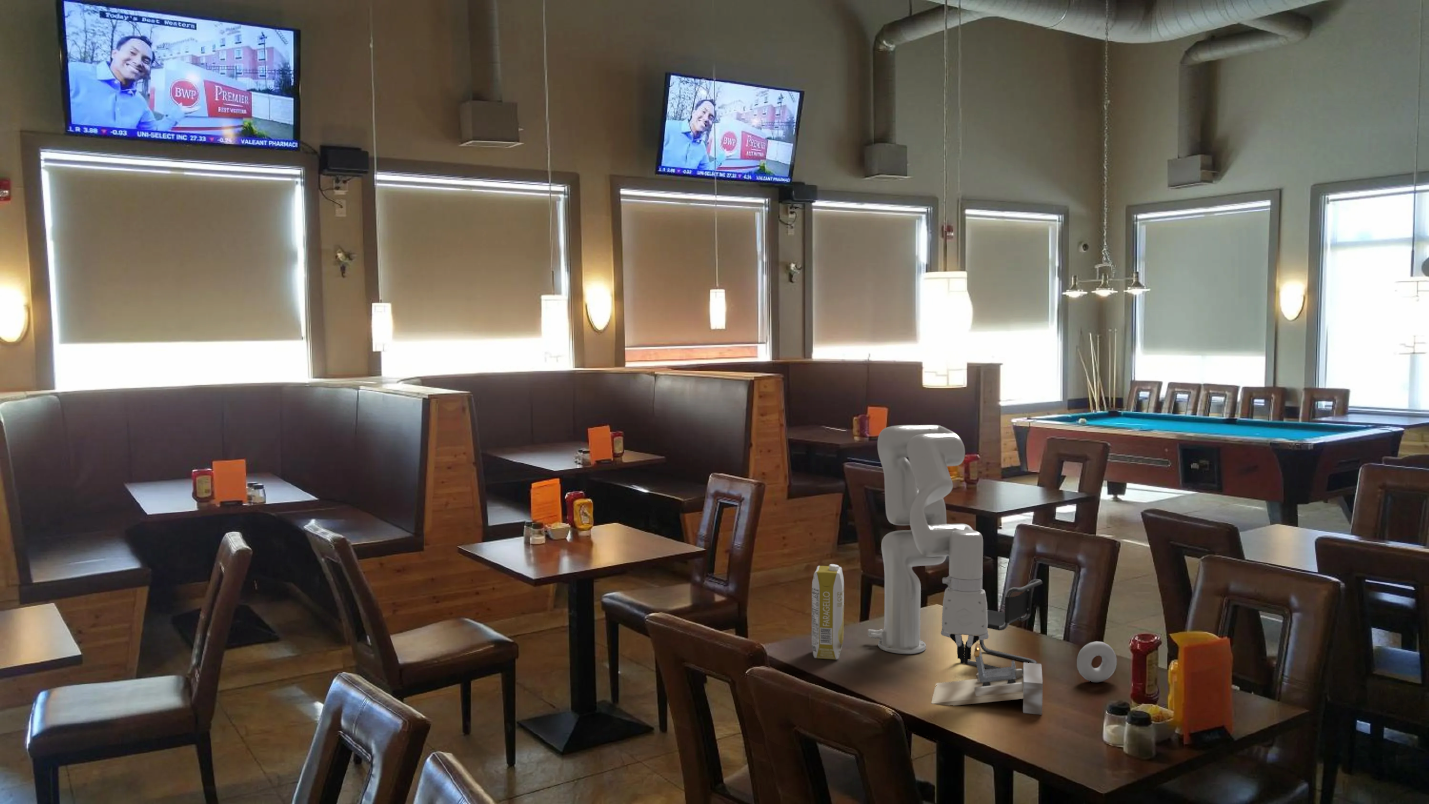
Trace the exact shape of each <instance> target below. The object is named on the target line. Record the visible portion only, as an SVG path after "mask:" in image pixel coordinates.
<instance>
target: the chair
mask: <svg viewBox="0 0 1429 804" xmlns="http://www.w3.org/2000/svg"><path fill="white" fill-rule="evenodd" d="M1040 585H1043V581H1042V580H1041V579H1038V578H1035V579H1032V580H1030V581H1029V582H1028V583H1027V584H1026V585H1025V586H1021V587H1017V586H1016V587H1010V588H1008V590H1006V593H1005V596H1004V612H1002V611H998V610H991V609H987V612H988V627H987V629H990V630H995V631H1004V630H1007V628H1008V627H1009V625H1010V624H1012V623H1014V622H1016V621H1020V622H1023V621H1026V620H1028V619H1029V618H1030V617H1031V615H1032V594H1033V593H1032V589H1033V588H1035V587H1038V586H1040ZM1014 592H1015V593H1020V594H1018V595H1016V596H1011V594H1013V593H1014ZM984 640H985V639H984ZM984 640H978V642H979V644H980V646H981V647H980V649H982V650H983V652H984V653H987V654H991V655H995V656H999V657H1003V658H1007V659H1011V658H1012V660H1015V659H1016V661H1021V662H1025V663H1028V662H1029V663H1036V664H1039V663H1038V661H1036V660H1035V659H1033V658H1029V657H1024V656H1019V655H1015V654H1011V653H1007V652H1003V651H997V650H993V649H990V648H988V647H986V645H985V643H984ZM956 654H957V655H956V656H958V646H957V645H956ZM983 664H984V668H986V669H985V670H987V669H996V668H1001V667H1000V666H995V665H991V664H987V663H983ZM967 665H969V666H974V667H977V664H976V660H975V661H974V660H968V664H967ZM1021 669H1022V674H1023V668H1021Z"/></svg>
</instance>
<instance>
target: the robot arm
mask: <svg viewBox="0 0 1429 804" xmlns="http://www.w3.org/2000/svg"><path fill="white" fill-rule="evenodd" d="M877 453H878V457H879V458H878V459H879V460H880V464H881V467H882V470H883V478H884V502H885V503H884V504H885V505H884V506H885V516H886V518H887V520H888V522H889V523H890V524H893V525H895V526H910V529H909V530H907V529H905V530H903V529H902V530H901V529H900V530H895V531H890V532H888V533H887V534H885V535H884V536H883V538H882V539H881V544H880V545H881V547H880V550H881V555H882V561H883V570H884V623H883V624H884V625H883V626H884V627H883V628H880V629H879V630H878V629H873V628H872V629H871V628H869V629H867V636H868V637H870V639H879V640H878V642H877V645H878V647H879V649H880V650H883V651H885V652H888V653H893V654H899V655H913V654H920V653H923V652H924V651H926V649H927V644H926V642H924V641H923V640H922V639H921V602H922V601H921V599H922V598H921V593H922V592H921V591H922V589H921V586H922V584H921V581H920V578H919V577H918V575H917V574H916V573H915V571H914V570H913V567H920V566H921V567H922V566H938V565H941V564H943V563H944V562H945V561H946V559H947V557H948V576H947V577H946V576H945V577H942V579H941V580H942V584H946V585H947V587H946V588H945V590H944V594H943V598H942V599H943V600H942V611H941V612H942V614H941V632H940V634H941V636H943V637H947V638H950V639H951V640H952V641H953V642H954V644H956V647H957V646H958V655H957V659H959V661H960V662H959V663H960V665H961V664H962V665H963V664H965V665H969V664H968V660H970V661H972V647H973V645H976V644H977V642H979V640H988V639H989V637H990V635H989V631H988V628H987V627H988V612H987V610H988V601H987V594H986V591H985V589H983V564H984V563H983V561H984V559H983V558H984V556H983V555H984V539H983V535H982V533H981V532H979V531H977V530H974V529H973V528H972V527H971V526H970V525H969V524H966V523H947V509H946V502H945V499H944V498H945V497H946V496H948V495H949V494H950V493H951V492H952V490H953V487H954V483H953V480H952V478H951V474H950V472H949V468H948V467H957V466H960V465H962V463H963V462H964V460H965V457H966V448H965V445H964V442H963V440H962V439H961V437H960V435H958V434H957V433H956V432H954V431H952V430H951V429H948V428H947V427H945V426H941V425H939V424H920V425H919V424H901V425H891V426H888V427H885V428H883V429H882V430H881V431H880V432H879V434H878V437H877ZM962 636H967V640H966V641H965V643H964V641H963V637H962Z"/></svg>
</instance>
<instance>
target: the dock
mask: <svg viewBox="0 0 1429 804" xmlns="http://www.w3.org/2000/svg"><path fill="white" fill-rule="evenodd" d="M1022 662H1023V666H1022V668H1016V679H1014V680H1015V681H1016V683H1011V684H1007V682H1008V680H1002V681H993V682H989V683H990V684H991V686H982V684H983V683H980V679H979V674H978V672H977V673H976V674H975V676H976V678H972V679H964V680H953V681H944V682H936V683H935V686H936V685H937V686H936V687H935V686H934V690H933V695H932V700H931V703H930V704H933V705H943V706H950V705H953V706H961V705H971V704H972V705H974V704H982V703H992V702H1001V701H1002V702H1003V701H1011V700H1012V701H1013V700H1020V699H1021V700H1022V712H1023V714H1031V715H1032V714H1033V715H1041V716H1042V715H1043V687H1044V686H1043V683H1044V682H1043V681H1044V680H1043V670H1042V667H1043V666H1042V663H1038V664H1036V663H1028V662H1024V661H1022ZM1022 669H1023V674H1022Z"/></svg>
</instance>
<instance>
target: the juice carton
mask: <svg viewBox="0 0 1429 804" xmlns="http://www.w3.org/2000/svg"><path fill="white" fill-rule="evenodd" d="M811 583H812V584H811V648H812V655H813V658H814V659H820V660H821V659H824V660H839V659H840V655H841V651H842V647H843V644H844V631H845V630H844V620H845V619H844V618H845V617H844V615H845V614H844V612H845V604H844V603H845V581H844V574H843V568H842V566H839V565H838V564H834V563H831V564H829V565H818V566H816V570H815V571H814V573H813V578H812V582H811Z"/></svg>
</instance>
